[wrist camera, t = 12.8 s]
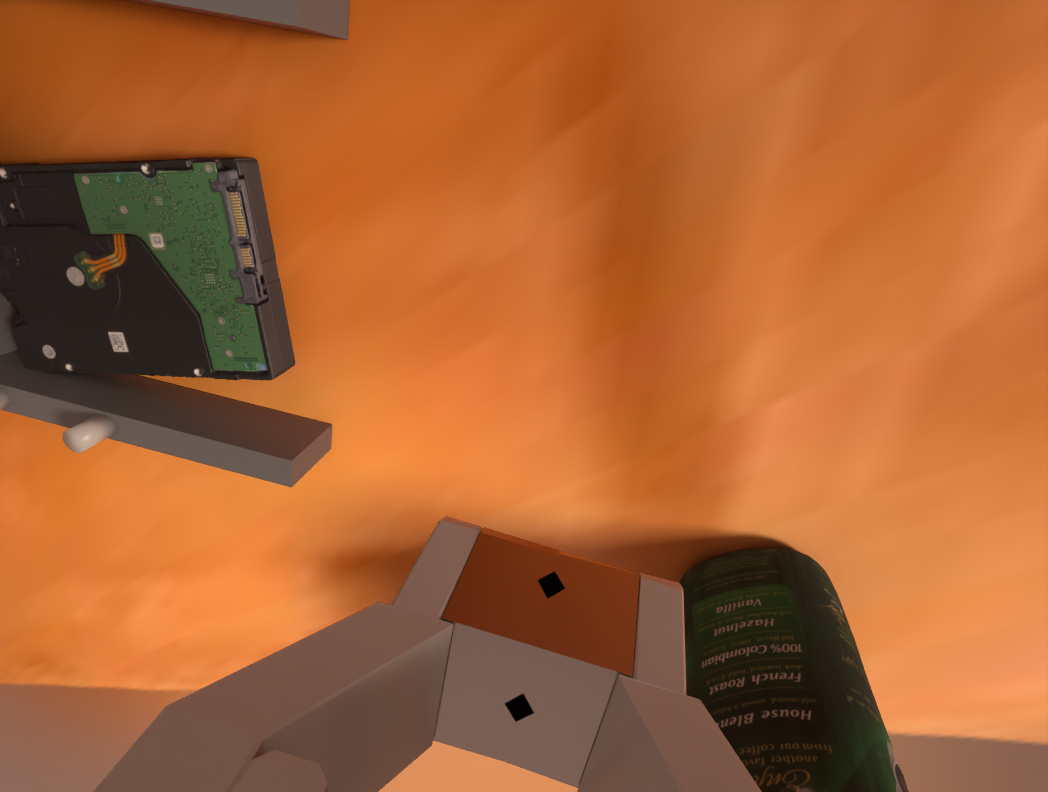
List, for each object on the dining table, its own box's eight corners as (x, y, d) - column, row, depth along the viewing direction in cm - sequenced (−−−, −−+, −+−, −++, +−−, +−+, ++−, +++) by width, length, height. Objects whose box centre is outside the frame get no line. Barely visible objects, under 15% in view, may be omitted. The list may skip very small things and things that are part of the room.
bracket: (-82, -76, 27) (-257, -124, 22) (349, -3, 25) (266, -37, 20) (6, 365, 36) (-104, 405, 31) (330, 448, 34) (270, 507, 29)
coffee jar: (655, 558, 33) (647, 1015, 16) (816, 524, 30) (1007, 1026, 13) (711, 696, 35) (754, 1206, 19) (862, 675, 33) (1069, 1246, 16)
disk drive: (70, 356, 36) (304, 363, 33) (25, 374, 34) (274, 383, 30) (1, 164, 32) (262, 150, 29) (-55, 168, 29) (223, 153, 26)
